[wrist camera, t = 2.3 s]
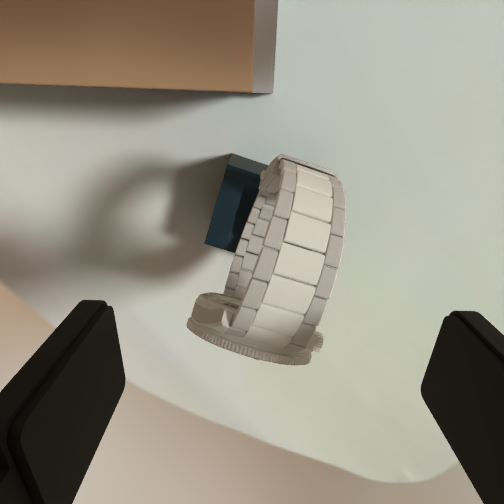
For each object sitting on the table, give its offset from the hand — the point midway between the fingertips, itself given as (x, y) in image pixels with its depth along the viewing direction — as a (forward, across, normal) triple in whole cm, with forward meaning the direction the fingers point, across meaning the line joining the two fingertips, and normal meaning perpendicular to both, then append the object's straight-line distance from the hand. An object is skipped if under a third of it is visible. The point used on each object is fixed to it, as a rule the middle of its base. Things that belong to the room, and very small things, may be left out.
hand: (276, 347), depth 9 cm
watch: (+12, 0, -1) cm, 12 cm away
